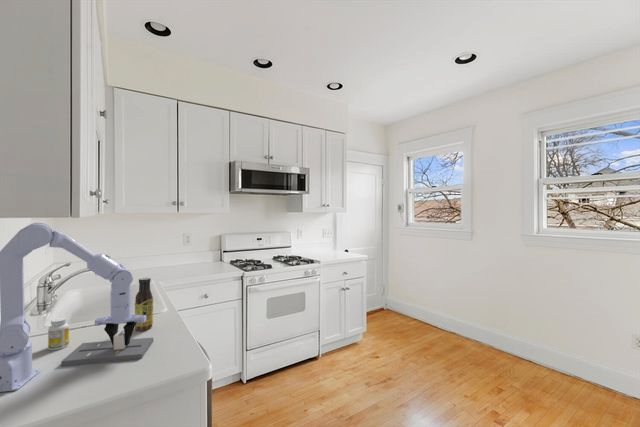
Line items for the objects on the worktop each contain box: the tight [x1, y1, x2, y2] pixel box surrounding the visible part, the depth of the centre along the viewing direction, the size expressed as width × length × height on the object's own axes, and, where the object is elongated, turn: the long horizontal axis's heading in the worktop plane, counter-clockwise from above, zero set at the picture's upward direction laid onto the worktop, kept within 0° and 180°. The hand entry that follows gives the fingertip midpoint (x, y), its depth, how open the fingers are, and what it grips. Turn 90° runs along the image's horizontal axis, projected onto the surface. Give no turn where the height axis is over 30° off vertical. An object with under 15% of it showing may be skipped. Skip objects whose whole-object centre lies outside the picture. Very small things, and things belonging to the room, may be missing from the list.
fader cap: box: [114, 330, 126, 350], centre depth 100 cm, size 4×3×5 cm
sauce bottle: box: [134, 277, 154, 332], centre depth 118 cm, size 6×6×20 cm
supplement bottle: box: [47, 316, 70, 351], centre depth 102 cm, size 5×5×10 cm
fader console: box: [60, 336, 154, 367], centre depth 99 cm, size 12×22×2 cm, turn 103°
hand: (121, 344), depth 100 cm, fingers closed on fader cap, 3 cm apart
